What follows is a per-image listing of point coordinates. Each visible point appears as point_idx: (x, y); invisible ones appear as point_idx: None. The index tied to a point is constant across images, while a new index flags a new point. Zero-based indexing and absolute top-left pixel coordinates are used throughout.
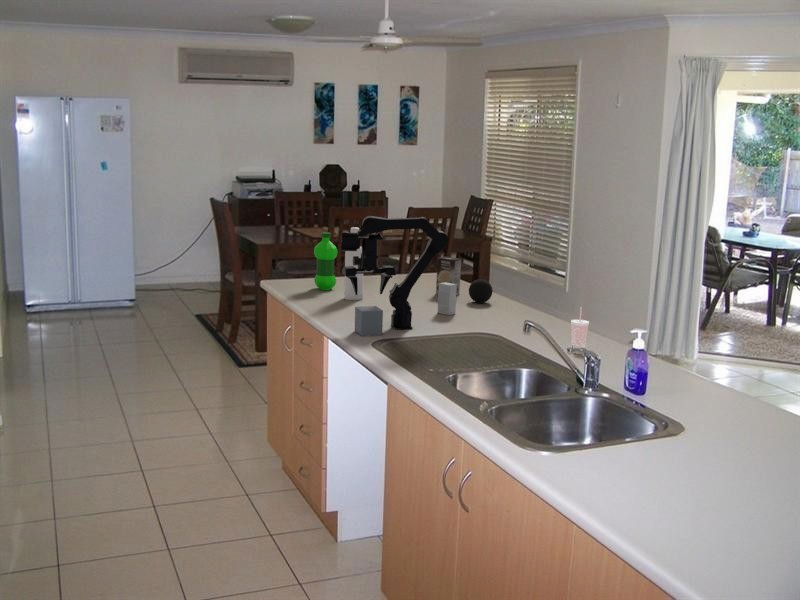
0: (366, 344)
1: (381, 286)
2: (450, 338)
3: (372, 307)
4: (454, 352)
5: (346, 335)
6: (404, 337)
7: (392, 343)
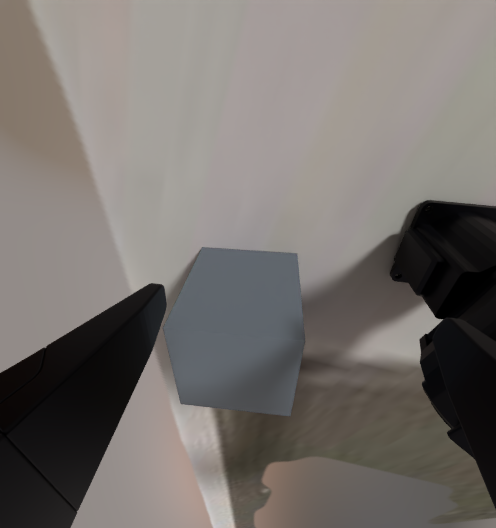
0: None
1: (493, 437)
2: None
3: (265, 363)
4: (374, 463)
5: None
6: (346, 360)
7: None
